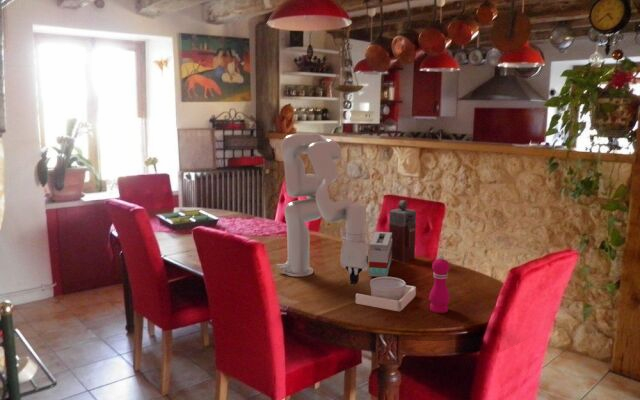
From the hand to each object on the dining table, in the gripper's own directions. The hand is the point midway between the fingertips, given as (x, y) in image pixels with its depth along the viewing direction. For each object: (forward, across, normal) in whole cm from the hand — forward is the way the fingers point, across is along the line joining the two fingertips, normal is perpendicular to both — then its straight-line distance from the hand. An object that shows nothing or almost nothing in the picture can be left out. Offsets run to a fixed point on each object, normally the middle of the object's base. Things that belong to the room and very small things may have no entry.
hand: (354, 283), depth 200 cm
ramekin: (+4, +14, 0) cm, 14 cm away
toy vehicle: (+5, -2, +35) cm, 35 cm away
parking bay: (+4, +13, 0) cm, 13 cm away
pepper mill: (+4, +33, -1) cm, 34 cm away
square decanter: (+4, +2, +54) cm, 54 cm away
